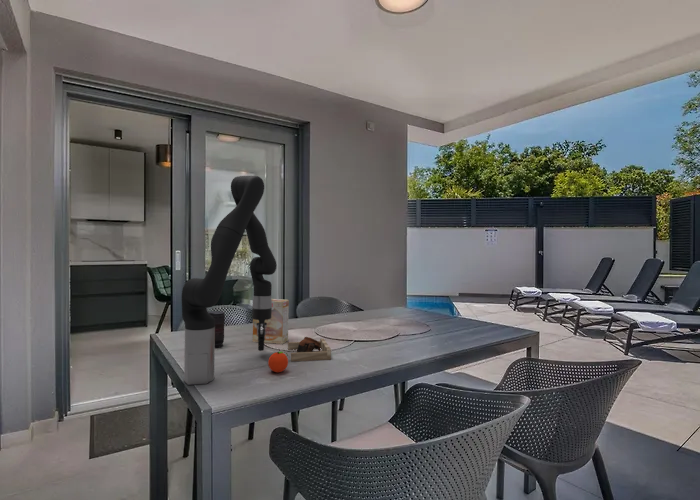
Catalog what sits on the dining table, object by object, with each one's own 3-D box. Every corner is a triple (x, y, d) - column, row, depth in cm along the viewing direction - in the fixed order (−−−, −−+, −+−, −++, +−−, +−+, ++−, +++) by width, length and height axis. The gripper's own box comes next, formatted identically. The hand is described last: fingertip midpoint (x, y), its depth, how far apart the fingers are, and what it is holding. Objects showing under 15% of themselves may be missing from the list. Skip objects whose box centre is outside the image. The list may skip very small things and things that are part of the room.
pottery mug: (292, 354, 161) (300, 335, 164) (312, 363, 163) (320, 344, 166) (298, 354, 150) (306, 334, 153) (319, 363, 152) (327, 344, 155)
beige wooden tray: (330, 359, 152) (331, 349, 152) (291, 361, 149) (291, 351, 149) (323, 347, 170) (323, 338, 170) (287, 349, 166) (288, 339, 166)
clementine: (281, 366, 142) (281, 347, 142) (294, 370, 138) (294, 351, 138) (263, 372, 136) (264, 351, 136) (276, 376, 132) (277, 355, 131)
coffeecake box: (252, 342, 178) (252, 299, 177) (259, 338, 184) (259, 297, 184) (282, 344, 174) (283, 301, 174) (288, 340, 181) (289, 299, 181)
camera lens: (218, 349, 164) (218, 314, 164) (201, 348, 166) (201, 313, 166) (228, 344, 172) (228, 311, 172) (211, 343, 174) (211, 310, 174)
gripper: (272, 309, 149) (271, 354, 149) (271, 304, 162) (270, 345, 162) (252, 309, 147) (250, 354, 147) (252, 304, 160) (251, 346, 160)
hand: (261, 350), depth 155 cm, fingers closed
